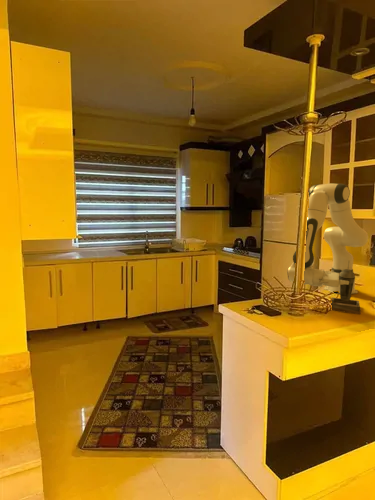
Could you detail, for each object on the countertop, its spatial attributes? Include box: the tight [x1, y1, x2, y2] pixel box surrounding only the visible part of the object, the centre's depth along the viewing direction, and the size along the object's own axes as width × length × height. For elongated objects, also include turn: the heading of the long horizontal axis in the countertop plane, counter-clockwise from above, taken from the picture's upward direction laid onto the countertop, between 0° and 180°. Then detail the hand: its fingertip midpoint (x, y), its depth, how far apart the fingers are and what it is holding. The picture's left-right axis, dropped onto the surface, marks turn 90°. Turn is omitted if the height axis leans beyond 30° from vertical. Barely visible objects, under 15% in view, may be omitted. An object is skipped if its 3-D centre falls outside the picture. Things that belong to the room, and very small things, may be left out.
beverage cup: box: [339, 260, 356, 301], centre depth 177 cm, size 7×7×20 cm
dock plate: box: [331, 297, 362, 315], centre depth 179 cm, size 14×14×3 cm
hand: (348, 281), depth 177 cm, fingers closed on beverage cup, 7 cm apart
